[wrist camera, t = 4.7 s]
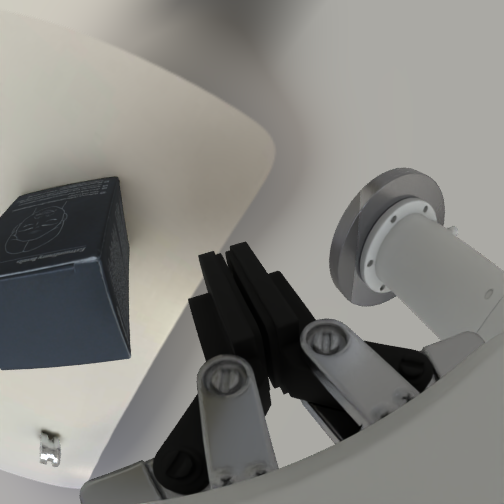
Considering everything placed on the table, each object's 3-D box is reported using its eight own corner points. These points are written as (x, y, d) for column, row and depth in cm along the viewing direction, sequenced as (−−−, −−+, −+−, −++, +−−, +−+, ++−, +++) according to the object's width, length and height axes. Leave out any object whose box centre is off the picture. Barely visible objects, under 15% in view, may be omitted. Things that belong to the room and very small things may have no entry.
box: (38, 263, 18) (-1, 373, 10) (19, 194, 15) (-55, 283, 7) (131, 248, 20) (134, 363, 12) (120, 174, 18) (99, 256, 9)
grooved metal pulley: (42, 427, 27) (41, 457, 23) (61, 433, 29) (61, 462, 25) (39, 438, 29) (39, 466, 25) (57, 443, 30) (57, 471, 26)
